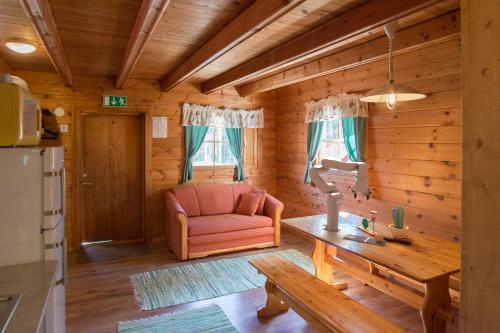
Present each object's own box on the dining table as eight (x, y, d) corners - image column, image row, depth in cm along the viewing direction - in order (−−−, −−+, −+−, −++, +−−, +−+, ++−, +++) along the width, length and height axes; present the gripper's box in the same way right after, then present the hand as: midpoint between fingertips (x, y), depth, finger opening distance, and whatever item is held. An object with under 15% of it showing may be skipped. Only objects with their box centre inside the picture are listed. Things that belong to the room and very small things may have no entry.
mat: (342, 238, 266) (342, 237, 266) (347, 234, 277) (347, 233, 276) (382, 245, 249) (382, 244, 249) (386, 241, 260) (386, 240, 260)
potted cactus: (384, 233, 280) (385, 204, 277) (403, 233, 280) (404, 204, 278) (392, 239, 264) (393, 208, 262) (412, 239, 265) (413, 208, 262)
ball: (373, 241, 256) (374, 234, 255) (375, 239, 261) (376, 232, 260) (382, 243, 252) (382, 236, 252) (383, 241, 257) (384, 234, 257)
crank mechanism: (379, 235, 275) (380, 212, 273) (372, 236, 273) (372, 212, 272) (363, 227, 299) (364, 206, 297) (356, 227, 298) (357, 206, 296)
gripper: (350, 177, 272) (349, 198, 273) (372, 179, 262) (371, 201, 264) (352, 176, 278) (352, 197, 279) (374, 178, 268) (373, 199, 270)
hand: (361, 199), depth 272 cm, fingers open, 9 cm apart
